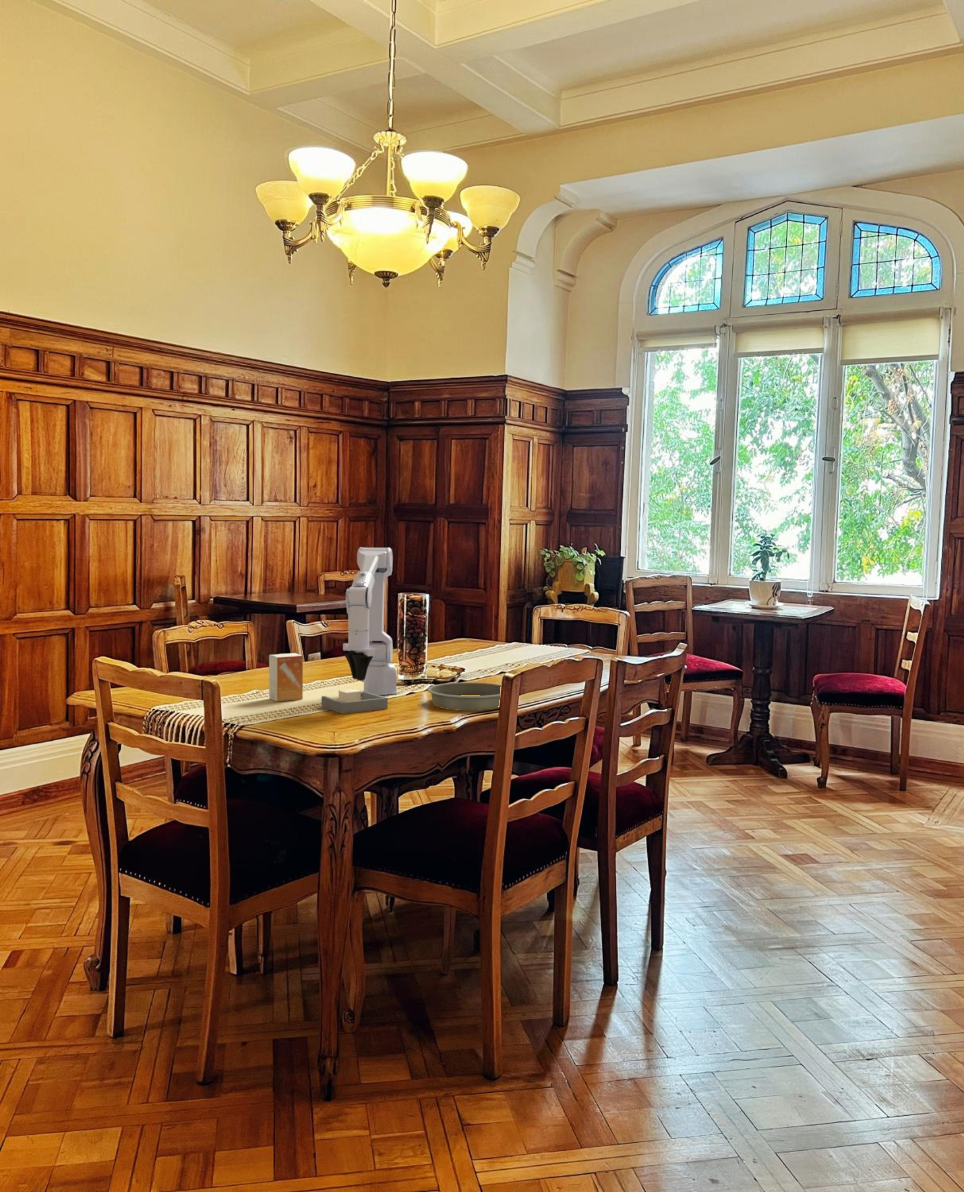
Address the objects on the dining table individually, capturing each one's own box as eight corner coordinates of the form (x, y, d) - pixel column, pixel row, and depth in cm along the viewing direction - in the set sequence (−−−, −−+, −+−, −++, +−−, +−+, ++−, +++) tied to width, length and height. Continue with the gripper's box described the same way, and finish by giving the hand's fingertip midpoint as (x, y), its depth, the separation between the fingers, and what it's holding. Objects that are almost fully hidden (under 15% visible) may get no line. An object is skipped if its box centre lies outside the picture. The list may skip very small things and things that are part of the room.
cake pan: (530, 704, 290) (531, 689, 289) (467, 716, 273) (467, 699, 272) (472, 693, 307) (472, 678, 307) (409, 703, 291) (410, 687, 290)
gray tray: (365, 701, 291) (365, 691, 291) (387, 708, 281) (387, 697, 280) (321, 706, 283) (321, 696, 282) (343, 714, 272) (342, 703, 272)
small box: (277, 702, 289) (276, 657, 288) (268, 698, 294) (268, 654, 293) (303, 699, 294) (303, 655, 293) (294, 696, 299) (294, 652, 298)
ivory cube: (352, 704, 287) (352, 688, 287) (360, 707, 283) (360, 691, 283) (338, 706, 284) (338, 690, 284) (346, 708, 281) (346, 692, 280)
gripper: (333, 628, 281) (333, 676, 282) (359, 633, 270) (359, 684, 271) (355, 627, 285) (355, 674, 287) (381, 632, 274) (381, 681, 275)
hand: (358, 679), depth 279 cm, fingers closed
